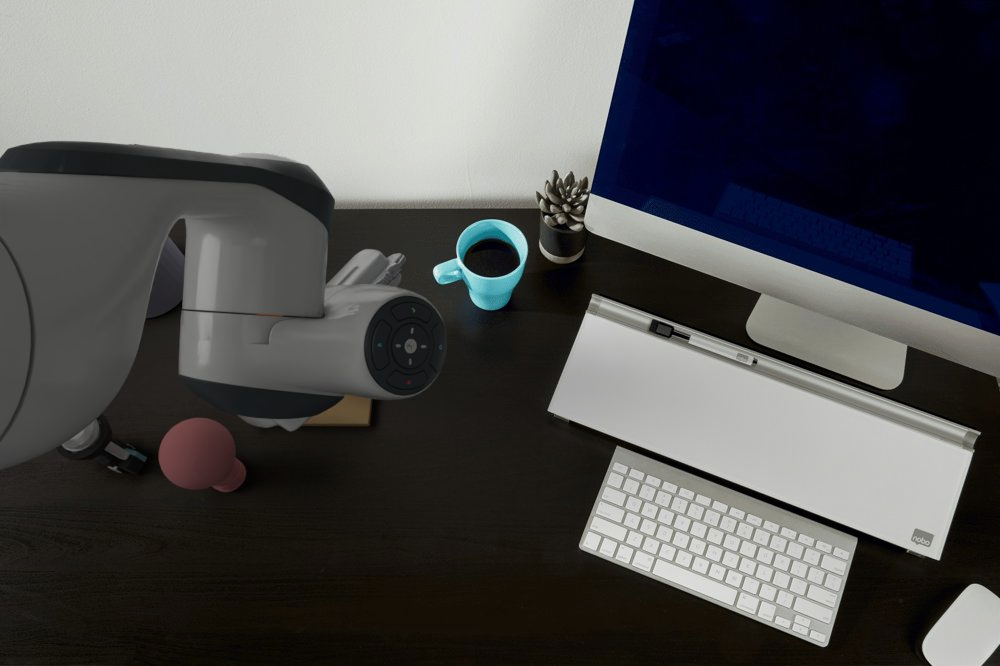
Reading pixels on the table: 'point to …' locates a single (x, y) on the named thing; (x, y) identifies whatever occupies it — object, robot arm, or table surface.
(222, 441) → the light bulb
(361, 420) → the coaster
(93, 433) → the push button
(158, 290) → the container
